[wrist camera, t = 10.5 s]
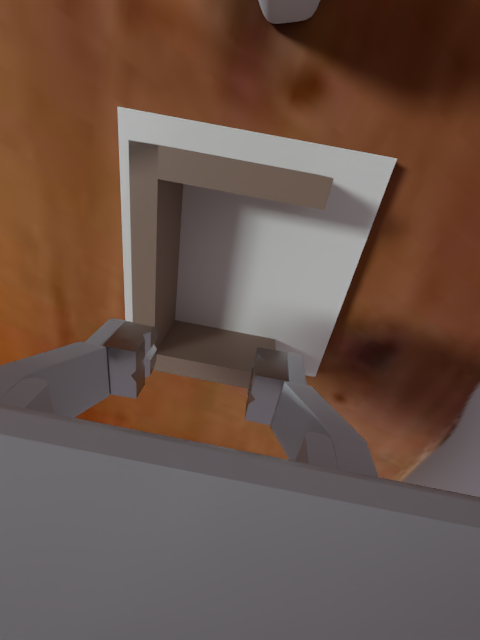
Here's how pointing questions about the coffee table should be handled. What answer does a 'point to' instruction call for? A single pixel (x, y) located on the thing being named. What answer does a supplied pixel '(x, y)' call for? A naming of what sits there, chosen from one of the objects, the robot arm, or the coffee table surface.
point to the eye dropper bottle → (288, 10)
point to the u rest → (239, 240)
